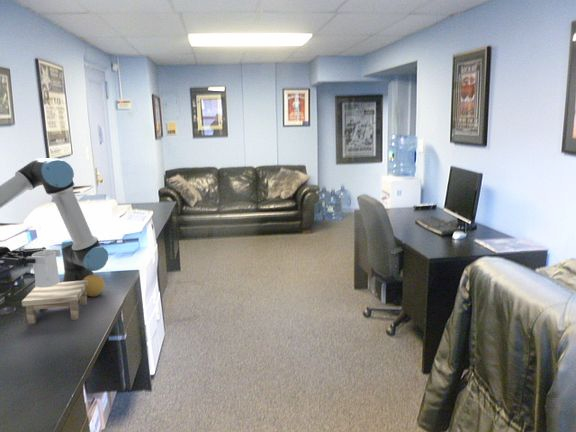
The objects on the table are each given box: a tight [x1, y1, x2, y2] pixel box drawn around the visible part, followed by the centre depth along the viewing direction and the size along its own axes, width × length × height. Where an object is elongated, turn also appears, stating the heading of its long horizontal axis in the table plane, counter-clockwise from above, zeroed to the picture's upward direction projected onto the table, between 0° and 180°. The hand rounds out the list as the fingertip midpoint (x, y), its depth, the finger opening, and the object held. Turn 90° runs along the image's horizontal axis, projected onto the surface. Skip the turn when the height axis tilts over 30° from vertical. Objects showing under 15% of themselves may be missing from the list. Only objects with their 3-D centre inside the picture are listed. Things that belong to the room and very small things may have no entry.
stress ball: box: [83, 273, 106, 298], centre depth 210 cm, size 10×10×10 cm
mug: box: [32, 250, 61, 287], centre depth 175 cm, size 12×8×12 cm
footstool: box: [21, 280, 88, 325], centre depth 192 cm, size 20×20×10 cm
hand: (52, 256), depth 175 cm, fingers closed on mug, 9 cm apart
